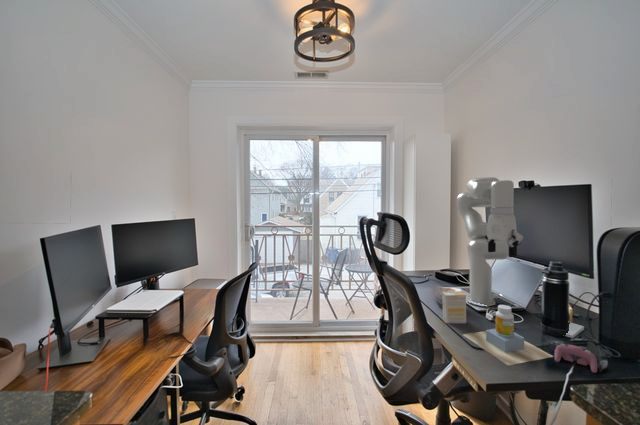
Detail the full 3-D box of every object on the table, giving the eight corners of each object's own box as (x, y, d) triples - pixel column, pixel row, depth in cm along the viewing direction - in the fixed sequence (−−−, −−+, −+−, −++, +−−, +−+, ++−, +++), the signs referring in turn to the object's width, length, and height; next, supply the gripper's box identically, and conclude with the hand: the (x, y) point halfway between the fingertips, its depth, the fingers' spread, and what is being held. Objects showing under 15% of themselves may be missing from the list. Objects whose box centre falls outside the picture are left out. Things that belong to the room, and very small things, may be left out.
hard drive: (558, 318, 116) (545, 326, 109) (584, 326, 109) (572, 335, 102) (558, 322, 116) (545, 330, 109) (584, 330, 109) (572, 339, 102)
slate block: (504, 337, 103) (504, 327, 102) (524, 349, 95) (524, 337, 95) (485, 340, 101) (485, 330, 101) (504, 352, 93) (504, 341, 93)
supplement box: (461, 320, 120) (461, 290, 119) (466, 325, 115) (466, 294, 114) (442, 320, 120) (441, 290, 120) (446, 325, 116) (445, 294, 115)
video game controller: (596, 375, 84) (596, 351, 86) (597, 375, 81) (597, 350, 83) (554, 363, 91) (555, 340, 93) (553, 362, 88) (554, 339, 90)
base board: (501, 330, 110) (501, 328, 110) (553, 359, 90) (553, 356, 90) (462, 337, 106) (462, 334, 106) (508, 368, 86) (508, 365, 86)
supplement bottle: (493, 329, 101) (493, 303, 101) (510, 330, 99) (511, 304, 99) (497, 336, 96) (497, 309, 96) (515, 338, 94) (516, 310, 94)
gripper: (477, 211, 117) (477, 251, 118) (513, 213, 100) (513, 259, 101) (492, 210, 118) (491, 249, 119) (530, 212, 102) (530, 258, 103)
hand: (501, 254), depth 110 cm, fingers open, 9 cm apart
